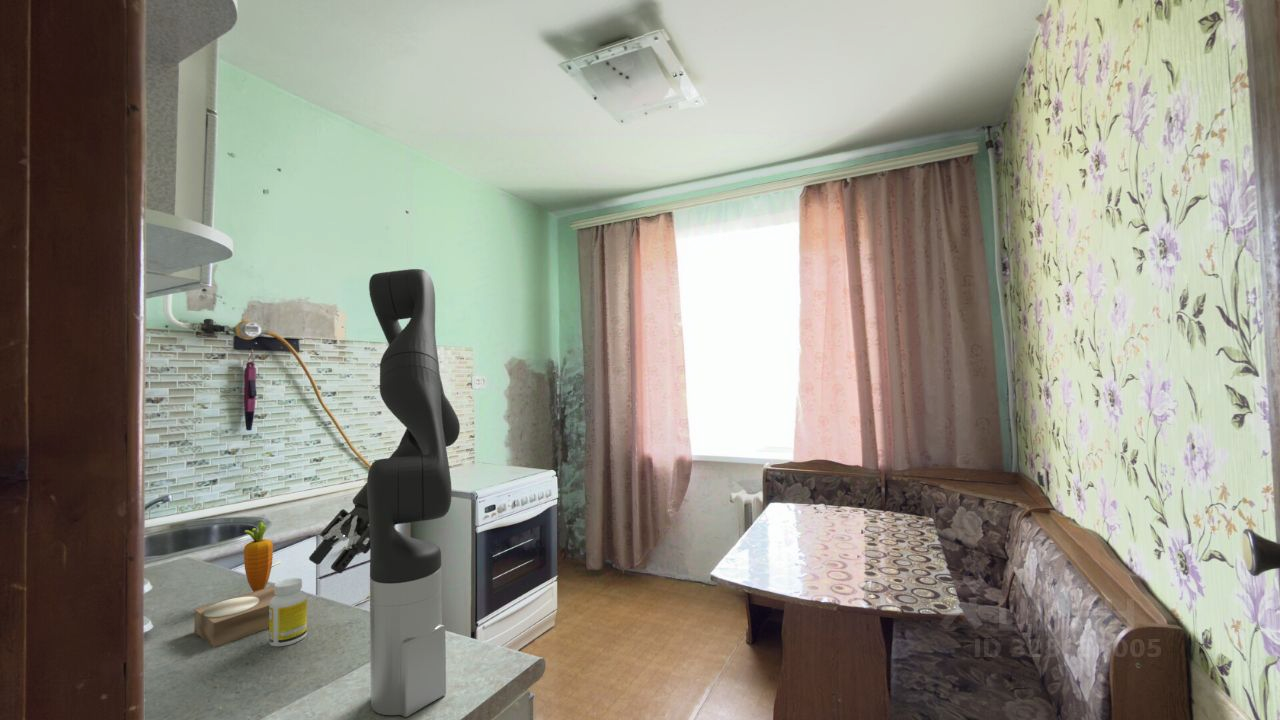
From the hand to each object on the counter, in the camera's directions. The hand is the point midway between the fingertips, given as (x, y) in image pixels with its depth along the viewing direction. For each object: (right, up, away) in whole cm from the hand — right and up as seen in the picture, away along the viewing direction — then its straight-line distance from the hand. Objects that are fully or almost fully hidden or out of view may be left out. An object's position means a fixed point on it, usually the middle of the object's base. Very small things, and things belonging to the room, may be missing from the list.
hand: (323, 566), depth 95 cm
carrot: (-22, -12, +14) cm, 29 cm away
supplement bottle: (-3, -11, -5) cm, 12 cm away
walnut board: (-14, -11, +1) cm, 18 cm away
